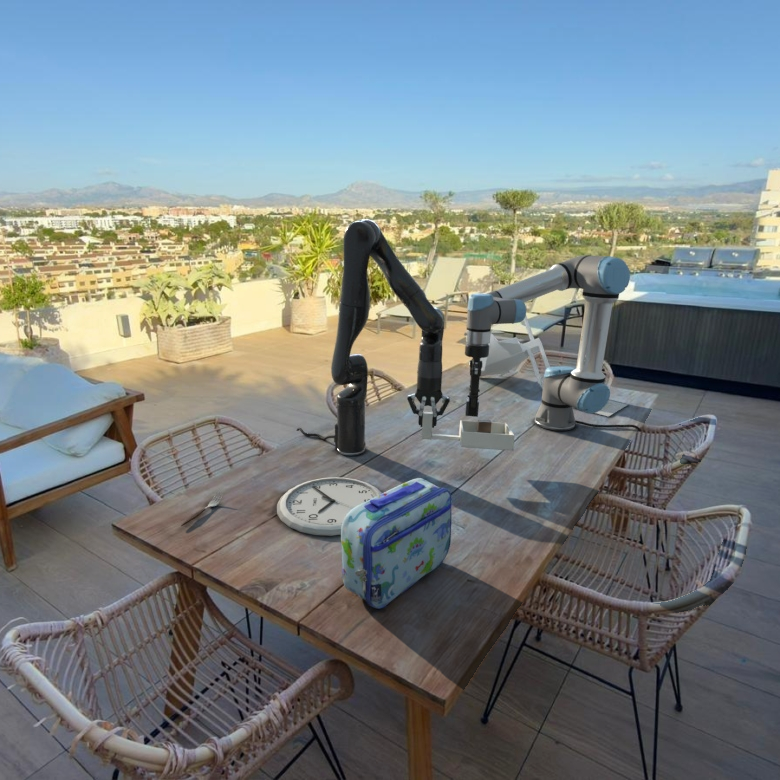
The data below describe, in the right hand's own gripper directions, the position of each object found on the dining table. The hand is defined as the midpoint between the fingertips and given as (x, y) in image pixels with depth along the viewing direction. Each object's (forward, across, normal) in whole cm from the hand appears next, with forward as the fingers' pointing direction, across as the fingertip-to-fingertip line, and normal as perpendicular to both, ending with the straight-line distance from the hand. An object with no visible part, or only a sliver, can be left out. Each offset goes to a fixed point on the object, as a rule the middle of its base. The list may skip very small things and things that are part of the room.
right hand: (472, 413), depth 171 cm
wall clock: (+15, +40, -37) cm, 57 cm away
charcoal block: (0, 0, 0) cm, 0 cm away
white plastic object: (+15, -89, +19) cm, 92 cm away
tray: (+5, +10, -2) cm, 12 cm away
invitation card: (+14, -61, +57) cm, 85 cm away
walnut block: (+6, +4, +4) cm, 8 cm away
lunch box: (+15, +68, -16) cm, 72 cm away
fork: (+16, +50, -70) cm, 87 cm away
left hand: (+2, +10, -14) cm, 17 cm away
